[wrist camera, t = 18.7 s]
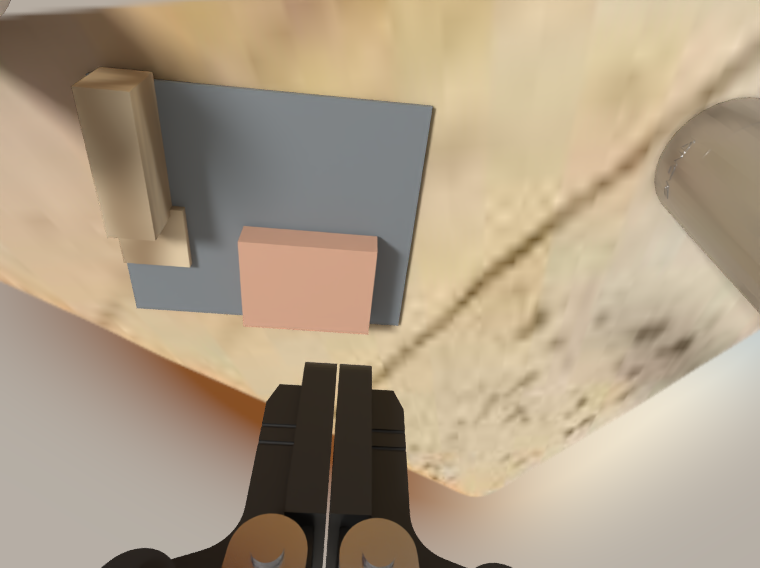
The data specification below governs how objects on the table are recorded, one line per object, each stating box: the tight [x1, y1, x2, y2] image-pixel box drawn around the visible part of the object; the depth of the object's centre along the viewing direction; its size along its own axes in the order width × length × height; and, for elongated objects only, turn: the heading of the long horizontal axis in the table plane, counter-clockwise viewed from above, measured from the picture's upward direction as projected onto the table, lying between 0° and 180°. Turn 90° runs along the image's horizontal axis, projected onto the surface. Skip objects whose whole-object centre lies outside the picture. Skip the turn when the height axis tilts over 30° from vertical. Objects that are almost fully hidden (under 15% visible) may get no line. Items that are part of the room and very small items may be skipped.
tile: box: [238, 226, 377, 334], centre depth 42 cm, size 2×8×10 cm
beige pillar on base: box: [71, 67, 192, 267], centre depth 36 cm, size 5×14×4 cm, turn 174°
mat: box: [86, 73, 433, 326], centre depth 40 cm, size 22×19×1 cm
